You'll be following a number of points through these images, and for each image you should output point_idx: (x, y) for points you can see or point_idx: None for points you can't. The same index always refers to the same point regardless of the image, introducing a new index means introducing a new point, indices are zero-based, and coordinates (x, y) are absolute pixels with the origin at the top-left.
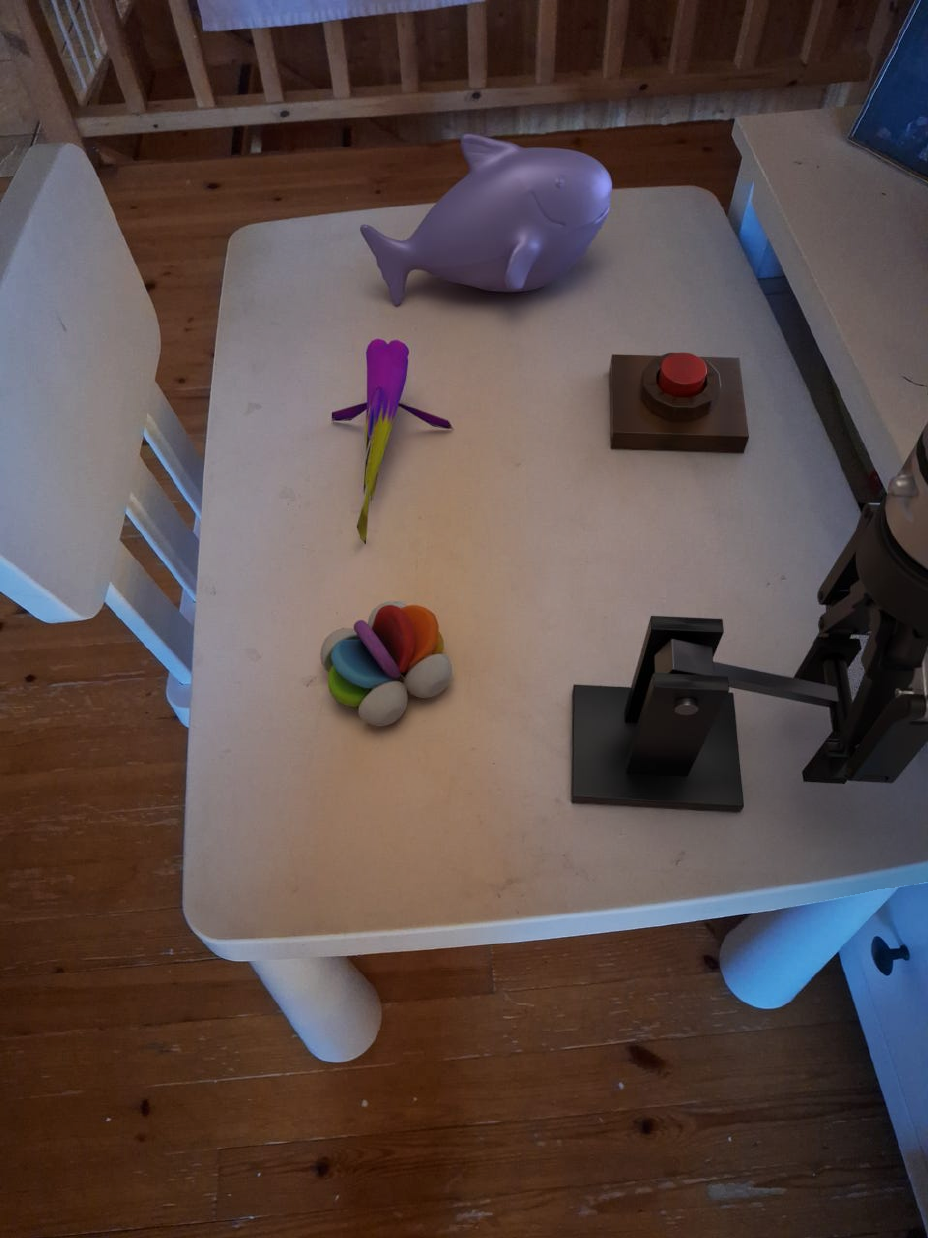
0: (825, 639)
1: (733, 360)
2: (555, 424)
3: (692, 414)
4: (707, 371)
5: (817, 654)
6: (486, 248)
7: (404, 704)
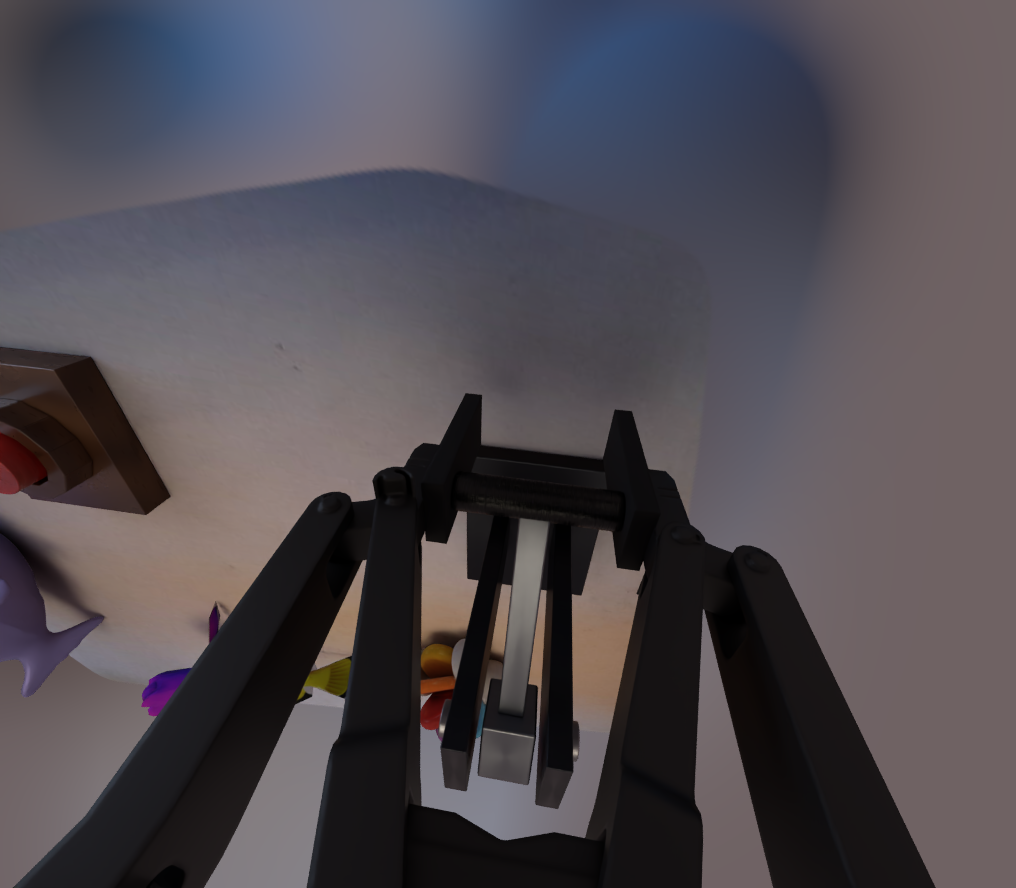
0: (430, 533)
1: None
2: (166, 534)
3: (63, 445)
4: None
5: (453, 520)
6: None
7: (496, 678)
